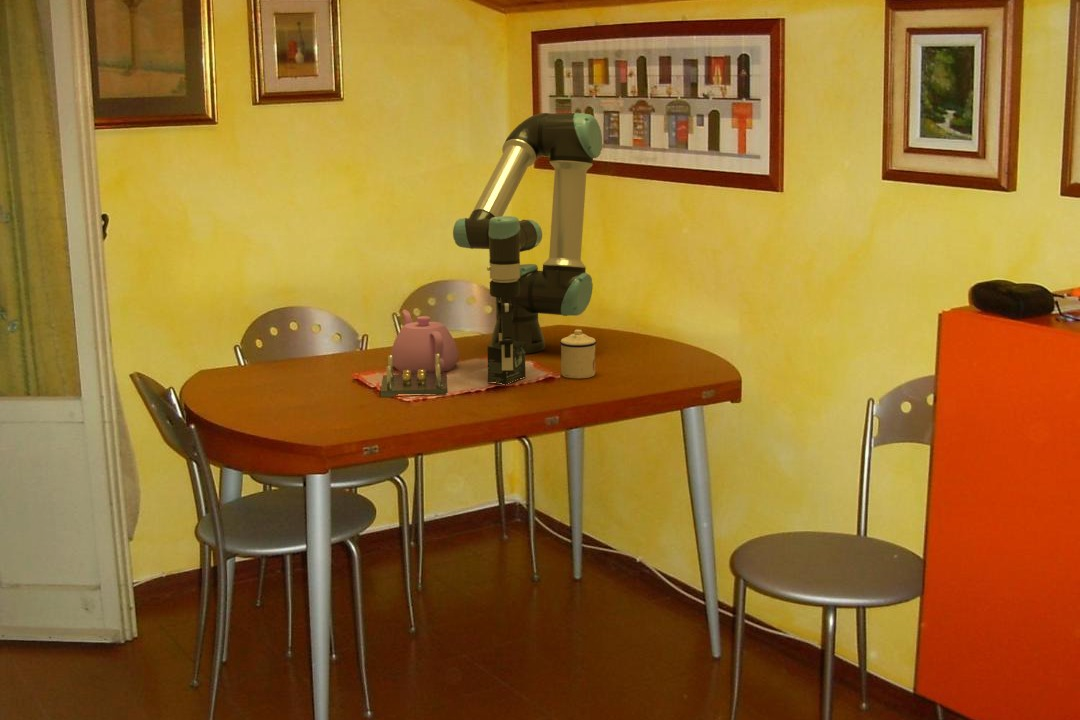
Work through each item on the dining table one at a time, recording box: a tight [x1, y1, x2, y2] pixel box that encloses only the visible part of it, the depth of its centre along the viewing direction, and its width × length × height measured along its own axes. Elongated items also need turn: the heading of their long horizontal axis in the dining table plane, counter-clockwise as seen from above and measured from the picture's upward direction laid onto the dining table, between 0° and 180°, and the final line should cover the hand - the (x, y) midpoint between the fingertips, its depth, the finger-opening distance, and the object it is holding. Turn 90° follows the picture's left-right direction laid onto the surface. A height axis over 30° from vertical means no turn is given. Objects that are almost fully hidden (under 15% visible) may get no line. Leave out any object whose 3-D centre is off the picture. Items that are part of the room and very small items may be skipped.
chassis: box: [380, 353, 448, 398], centre depth 326 cm, size 16×16×7 cm
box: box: [487, 341, 526, 386], centre depth 331 cm, size 9×6×10 cm, turn 147°
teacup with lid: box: [559, 329, 597, 380], centre depth 337 cm, size 12×9×12 cm
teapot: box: [390, 309, 460, 374], centre depth 347 cm, size 25×18×14 cm
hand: (505, 364), depth 331 cm, fingers open, 13 cm apart
